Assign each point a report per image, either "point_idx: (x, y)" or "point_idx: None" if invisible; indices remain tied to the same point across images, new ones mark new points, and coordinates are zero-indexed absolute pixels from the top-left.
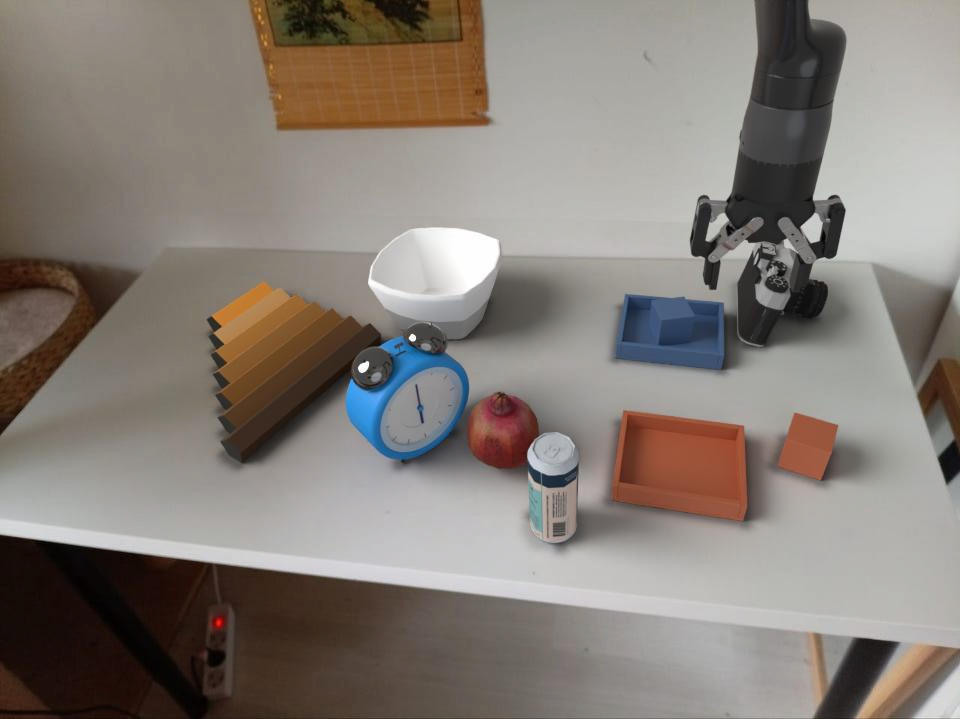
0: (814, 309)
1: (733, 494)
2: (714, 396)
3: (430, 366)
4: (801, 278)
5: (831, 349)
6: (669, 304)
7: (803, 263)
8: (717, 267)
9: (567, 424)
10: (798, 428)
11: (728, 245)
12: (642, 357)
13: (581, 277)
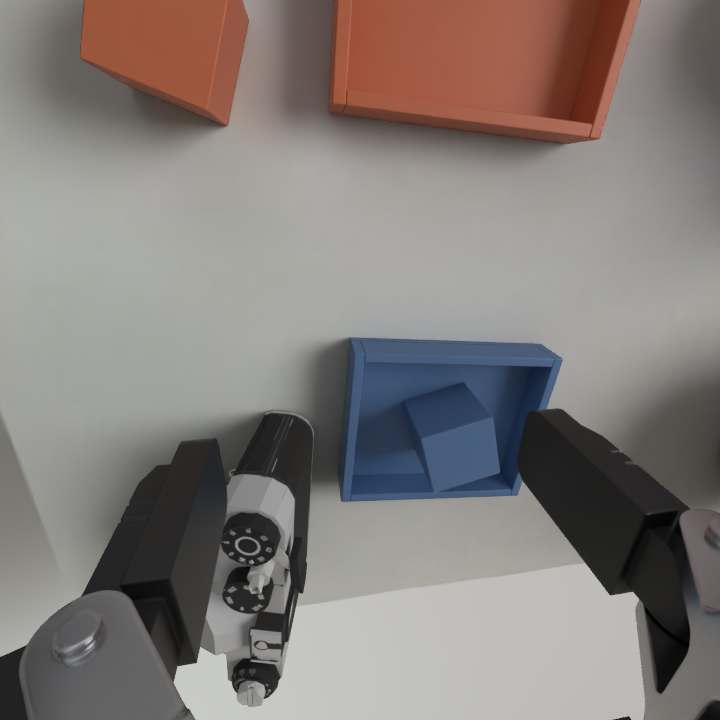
0: None
1: None
2: (370, 257)
3: None
4: (167, 493)
5: (132, 424)
6: (467, 465)
7: (144, 589)
8: (634, 488)
9: (672, 135)
10: (196, 30)
11: None
12: (499, 346)
13: (555, 530)
